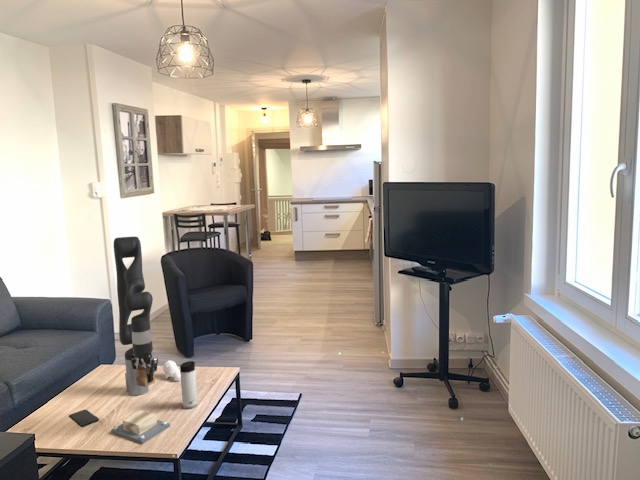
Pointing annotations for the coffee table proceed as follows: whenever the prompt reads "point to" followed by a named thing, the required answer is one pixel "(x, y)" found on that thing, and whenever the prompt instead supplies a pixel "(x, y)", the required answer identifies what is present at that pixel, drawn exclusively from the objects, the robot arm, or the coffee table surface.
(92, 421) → the smartphone
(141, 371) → the walnut block
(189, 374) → the travel mug
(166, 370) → the white lumpy piece
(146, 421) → the birch plinth
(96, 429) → the coffee table surface
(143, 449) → the coffee table surface
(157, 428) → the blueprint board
